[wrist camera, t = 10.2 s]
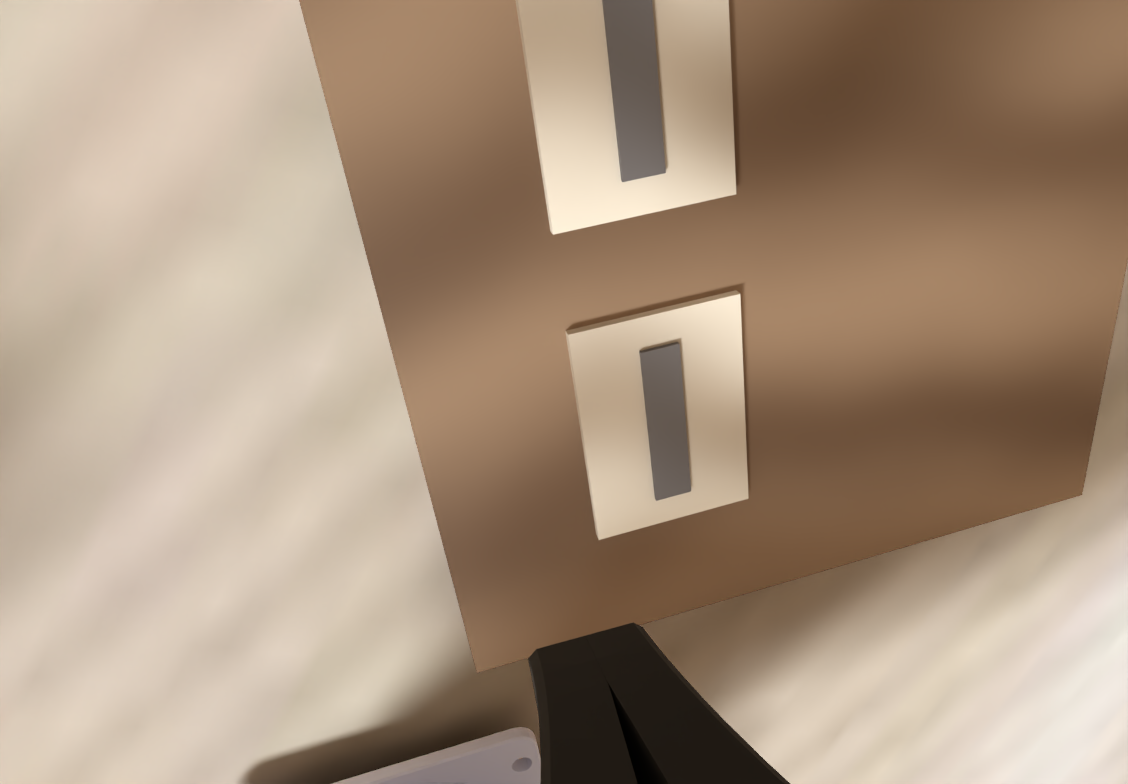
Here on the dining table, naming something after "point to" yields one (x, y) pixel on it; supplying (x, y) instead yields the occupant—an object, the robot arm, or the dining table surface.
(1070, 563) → the dining table surface
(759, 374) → the label board
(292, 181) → the dining table surface
